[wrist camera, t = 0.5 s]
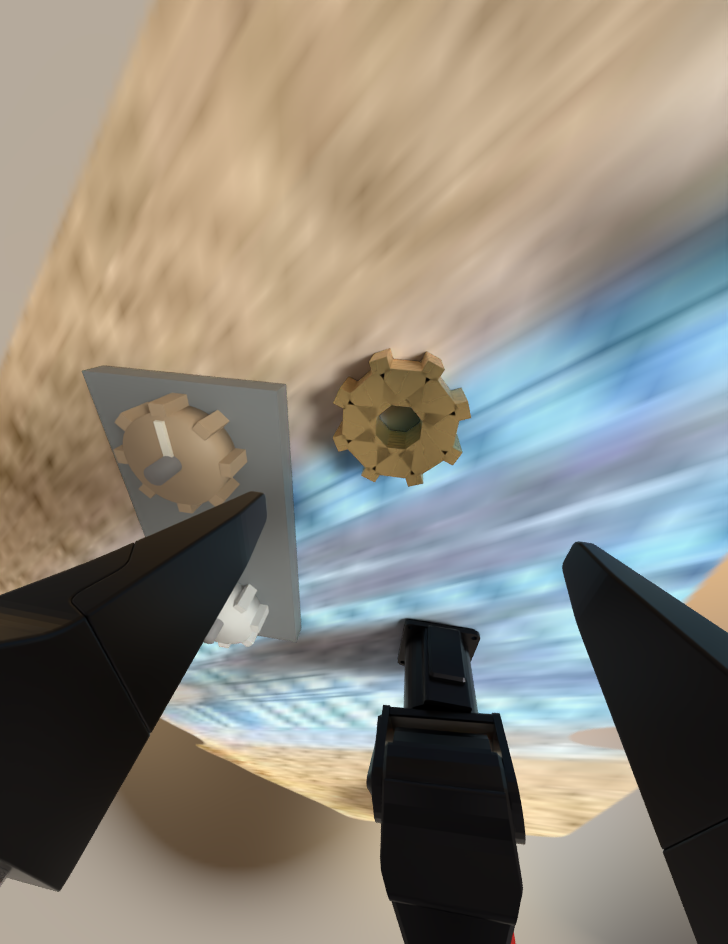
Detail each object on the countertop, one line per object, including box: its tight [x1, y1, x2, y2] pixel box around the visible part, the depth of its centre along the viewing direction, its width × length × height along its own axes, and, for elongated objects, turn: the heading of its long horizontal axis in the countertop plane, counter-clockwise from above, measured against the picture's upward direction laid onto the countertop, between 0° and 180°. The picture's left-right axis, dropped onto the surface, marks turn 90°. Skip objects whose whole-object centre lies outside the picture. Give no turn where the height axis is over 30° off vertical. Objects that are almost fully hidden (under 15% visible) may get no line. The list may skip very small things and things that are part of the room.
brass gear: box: [333, 348, 471, 487], centre depth 18 cm, size 7×7×2 cm
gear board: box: [82, 366, 301, 648], centre depth 23 cm, size 24×12×6 cm, turn 176°
